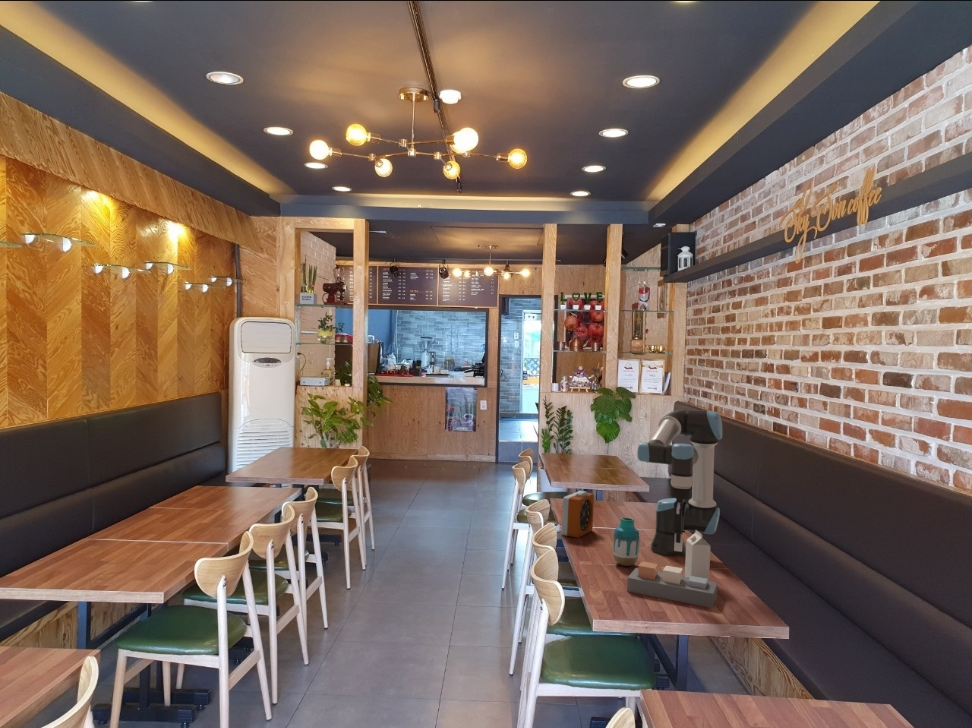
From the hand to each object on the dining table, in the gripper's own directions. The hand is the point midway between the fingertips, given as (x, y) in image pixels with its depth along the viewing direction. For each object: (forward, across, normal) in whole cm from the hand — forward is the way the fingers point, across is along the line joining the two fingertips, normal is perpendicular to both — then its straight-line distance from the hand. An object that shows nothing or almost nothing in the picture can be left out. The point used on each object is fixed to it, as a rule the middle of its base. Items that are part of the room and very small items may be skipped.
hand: (678, 550), depth 240 cm
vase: (+16, -24, -24) cm, 38 cm away
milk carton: (+16, -19, +5) cm, 26 cm away
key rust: (+13, 0, -10) cm, 17 cm away
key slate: (+15, +1, +7) cm, 17 cm away
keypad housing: (+16, 0, -2) cm, 16 cm away
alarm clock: (+17, -60, -54) cm, 83 cm away
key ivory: (+13, 0, -1) cm, 13 cm away
